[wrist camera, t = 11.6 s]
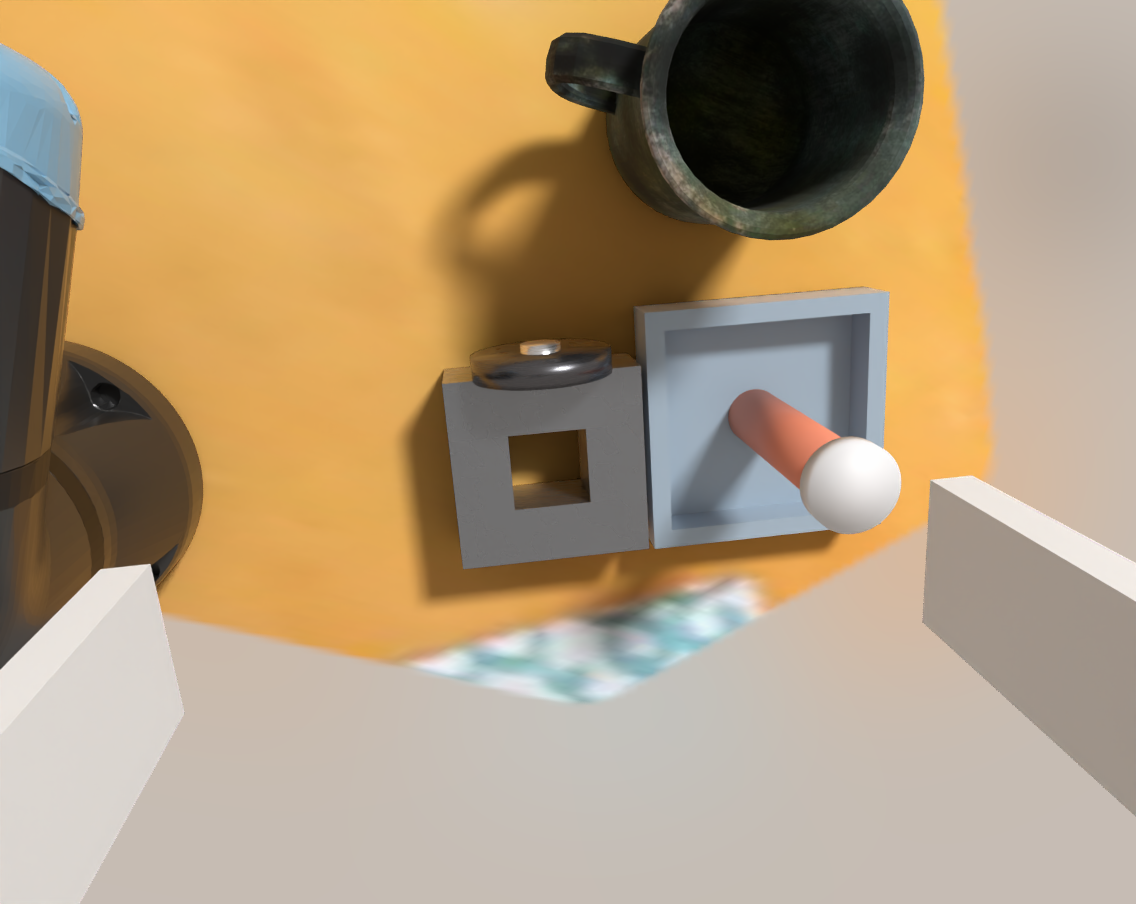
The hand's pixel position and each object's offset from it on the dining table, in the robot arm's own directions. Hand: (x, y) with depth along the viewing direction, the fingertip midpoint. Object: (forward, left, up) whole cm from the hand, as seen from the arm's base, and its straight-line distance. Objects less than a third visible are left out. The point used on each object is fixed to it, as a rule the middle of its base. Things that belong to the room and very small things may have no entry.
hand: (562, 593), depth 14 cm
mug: (+10, +10, -33) cm, 36 cm away
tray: (+14, -6, -33) cm, 36 cm away
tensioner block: (+2, -7, -33) cm, 33 cm away
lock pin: (+14, -6, -32) cm, 35 cm away
